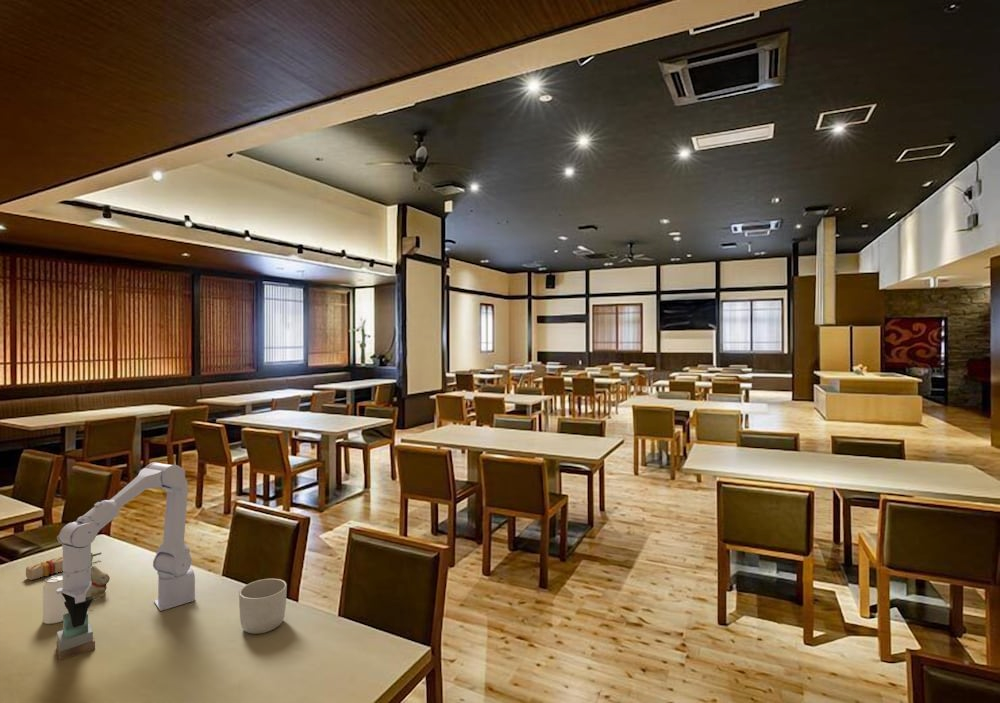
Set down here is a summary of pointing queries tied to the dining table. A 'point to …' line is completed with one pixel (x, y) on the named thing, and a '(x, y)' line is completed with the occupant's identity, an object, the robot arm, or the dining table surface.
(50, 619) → the can
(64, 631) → the teal block
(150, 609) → the dining table surface
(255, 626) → the planter
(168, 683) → the dining table surface
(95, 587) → the chocolate bunny
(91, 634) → the tower top
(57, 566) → the skewer
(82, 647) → the tower base
